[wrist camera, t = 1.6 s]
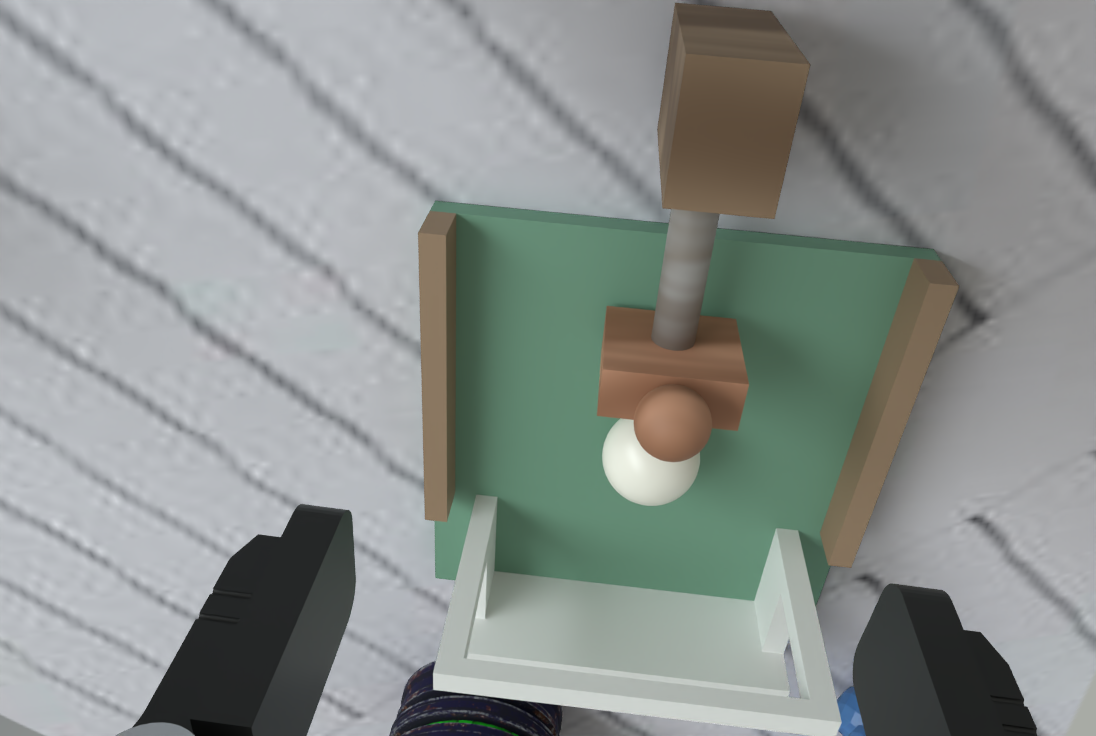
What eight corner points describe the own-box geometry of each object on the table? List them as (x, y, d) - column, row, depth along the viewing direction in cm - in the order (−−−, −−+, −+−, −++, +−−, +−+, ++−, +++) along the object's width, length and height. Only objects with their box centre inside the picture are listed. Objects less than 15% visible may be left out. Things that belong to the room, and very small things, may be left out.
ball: (608, 384, 35) (606, 443, 31) (704, 394, 34) (711, 455, 31) (599, 457, 37) (595, 520, 33) (689, 467, 37) (694, 531, 33)
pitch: (435, 200, 32) (355, 347, 23) (933, 249, 31) (1053, 421, 22) (439, 563, 43) (386, 758, 34) (806, 605, 42) (852, 817, 33)
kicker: (643, 0, 26) (645, 50, 20) (803, 13, 26) (852, 69, 20) (600, 355, 33) (592, 469, 27) (724, 368, 33) (744, 486, 27)
